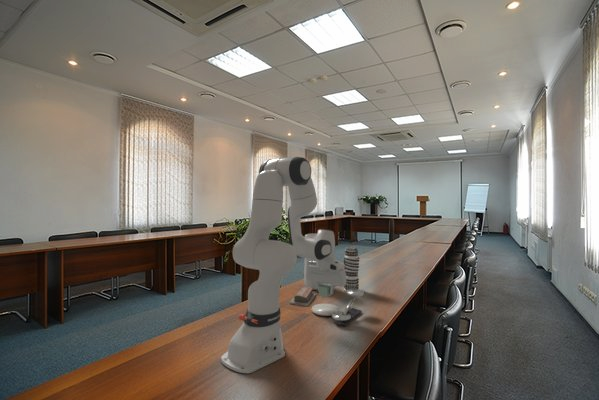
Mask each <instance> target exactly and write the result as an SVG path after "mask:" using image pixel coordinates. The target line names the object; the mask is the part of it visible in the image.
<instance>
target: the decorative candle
mask: <svg viewBox="0 0 599 400" xmlns="http://www.w3.org/2000/svg"><path fill="white" fill-rule="evenodd" d="M359 262H360V257H359V250H358V248H357V247H354V246H348V247H346V248H345V249H344V258H343V264H344V265H345V267H344V268H343V269H344V270H345V272H346V284H345V285H344V286H343V288H344V289H343V290H344V292H346V291H347V290H349V289H359V290H360V288H359V287H360V285H359V282H360V281H359V280H360V279H359V271H360V269H359V268H360V266H359V265H360V263H359Z"/></svg>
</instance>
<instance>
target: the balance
mask: <svg viewBox="0 0 599 400" xmlns="http://www.w3.org/2000/svg"><path fill="white" fill-rule="evenodd" d="M364 294H365V291H364V290H363V289H362V290H361V289H360V288H359V289H349V290H347V292H346V295H348V296H351V297H352V298H351V300H350V301H349V302H348V304H347V305H346V307H345V309H344V311H339V312H334V313H333V314H332V316H331V319H333V324H334V325H337V326H340V327H346V326H348V324H350V323H351V322H352V321H354V320H355V319H356V318H357V317H358V316H360V315H361V314H362V312H363V310H362V309H358V308H355V307H352V305H353V303H354V301H355V300H356V298H357V297H362V296H364Z"/></svg>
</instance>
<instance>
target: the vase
mask: <svg viewBox="0 0 599 400" xmlns="http://www.w3.org/2000/svg"><path fill="white" fill-rule="evenodd" d="M316 235H317V233H307V234H305V235H304V237H309V238H314V237H315V236H316ZM310 261H313V262H316V260H314V259H306V258H304V270H303V271H304V274H303V275H304V278H303V279H304V287H311V288H313V291H318V287H317V285H316V282H315V281H310V280H307V278H306V273H307V263H308V262H310ZM322 284H325V283H320V285H322Z"/></svg>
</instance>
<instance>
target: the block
mask: <svg viewBox="0 0 599 400" xmlns="http://www.w3.org/2000/svg"><path fill="white" fill-rule="evenodd" d="M331 288H332V287H331V285H330V284H322V285H320V286H319V291H318V296H319V297H323V298H330V297H331V296H332V295H333V294H329V290H330V289H331Z"/></svg>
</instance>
